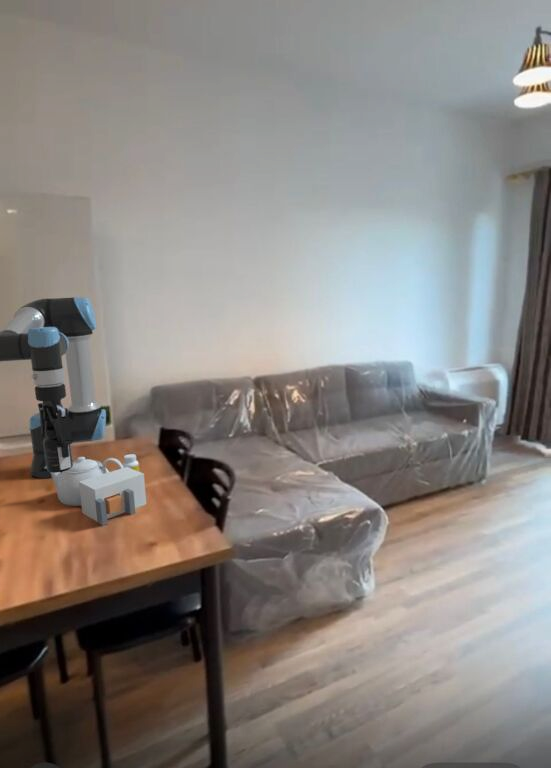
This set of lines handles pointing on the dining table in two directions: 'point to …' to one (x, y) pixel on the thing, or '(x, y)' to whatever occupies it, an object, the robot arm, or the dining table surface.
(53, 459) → the supplement bottle
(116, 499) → the block
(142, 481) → the box
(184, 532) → the dining table surface
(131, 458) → the supplement bottle
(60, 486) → the teapot
